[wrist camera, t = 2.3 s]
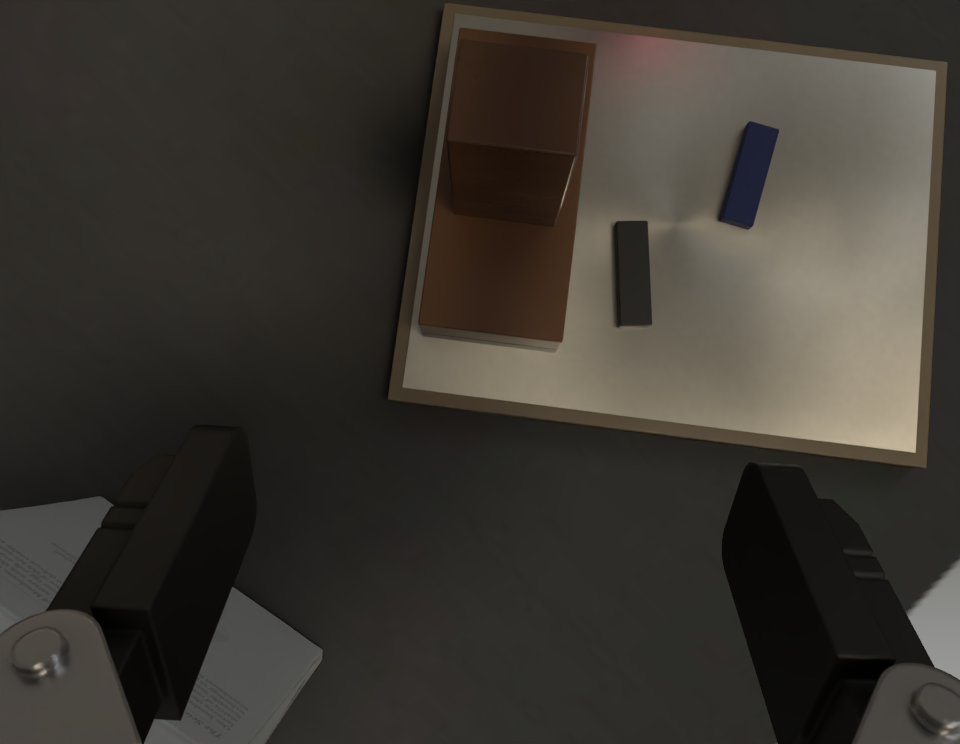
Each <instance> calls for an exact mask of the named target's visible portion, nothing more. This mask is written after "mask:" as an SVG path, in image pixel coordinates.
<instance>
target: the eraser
mask: <svg viewBox="0 0 960 744" xmlns="http://www.w3.org/2000/svg"><path fill="white" fill-rule="evenodd" d="M596 49H597V44H595V43H587V42H579V41H570V40H562V39H553V38H545V37H537V36H528V35H520V34H512V33H503V32H495V31H487V30H478V29H470V28H460V29H459V34H458V41H457V48H456V56H455V63H454V70H453V77H452V84H451V91H450V98H449V105H448V113H447V120H446V127H445V134H444V141H443V148H442V155H441V162H440V170H439V177H438V184H437V191H436V198H435V205H434V212H433V219H432V227H431V234H430V241H429V248H428V255H427V262H426V269H425V276H424V284H423V291H422V298H421V305H420V312H419V319H418V324H419V327H420V329H421V332H422V334H423V336H425V337H432V338H440V339H448V340H456V341H464V342H472V343H480V344H488V345H496V346H504V347H512V348H520V349H528V350H536V351H544V352H552V353H556V351H557V350H558V348H559V346H560V345H561V343H562V342H563V335H564V327H565V318H566V309H567V301H568V292H569V283H570V275H571V266H572V257H573V249H574V240H575V231H576V223H577V214H578V205H579V196H580V188H581V179H582V170H583V162H584V153H585V144H586V136H587V127H588V118H589V110H590V101H591V92H592V84H593V75H594V66H595V58H596Z"/></svg>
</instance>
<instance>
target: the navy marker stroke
mask: <svg viewBox="0 0 960 744" xmlns="http://www.w3.org/2000/svg"><path fill="white" fill-rule="evenodd" d="M778 134H779V129H776V128H773V127H769V126H766V125H762V124H759V123H755V122H752V121H749V122H748V124H747V125H746V126H745V129H744V132H743V136H742V140H741V143H740V147H739V150H738V154H737V157H736V161H735V165H734V168H733V172H732V175H731V179H730V182H729V186H728V190H727V193H726V197H725V200H724V204H723V207H722V211H721V215H720V218H719V221H721V222H724V223H727V224H731V225H734V226H737V227H741V228H744V229H747V230H749V229H750V228H751V227H752V226H753V225H754V221H755V218H756V214H757V210H758V207H759V203H760V199H761V196H762V192H763V188H764V185H765V181H766V177H767V174H768V170H769V166H770V163H771V159H772V156H773V152H774V148H775V145H776V141H777V137H778Z"/></svg>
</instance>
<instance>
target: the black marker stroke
mask: <svg viewBox="0 0 960 744" xmlns="http://www.w3.org/2000/svg"><path fill="white" fill-rule="evenodd" d="M614 235H615V262H616V289H617V317H618V327H619V328H648V327H650V326H651V325H652V306H651V283H650V259H649V236H648V221H616V223H615V225H614Z"/></svg>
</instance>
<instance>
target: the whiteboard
mask: <svg viewBox="0 0 960 744" xmlns="http://www.w3.org/2000/svg"><path fill="white" fill-rule="evenodd" d="M460 28H470V29H478V30H487V31H495V32H503V33H512V34H520V35H528V36H537V37H545V38H553V39H562V40H570V41H579V42H587V43H595V44H597V49H596V58H595V66H594V75H593V84H592V92H591V101H590V110H589V118H588V127H587V136H586V144H585V153H584V162H583V170H582V179H581V188H580V196H579V205H578V214H577V223H576V231H575V240H574V249H573V257H572V266H571V275H570V283H569V292H568V301H567V309H566V318H565V327H564V335H563V342H562V343H561V345H560V346H559V348H558V350H557V351H556V353H552V352H544V351H536V350H528V349H520V348H512V347H504V346H496V345H488V344H480V343H472V342H464V341H456V340H448V339H440V338H432V337H425V336H423V334H422V332H421V329H420V327H419V324H418V319H419V312H420V305H421V298H422V291H423V284H424V276H425V269H426V262H427V255H428V248H429V241H430V234H431V227H432V219H433V212H434V205H435V198H436V191H437V184H438V177H439V170H440V162H441V155H442V148H443V141H444V134H445V127H446V120H447V113H448V105H449V98H450V91H451V84H452V77H453V70H454V63H455V56H456V48H457V41H458V34H459V29H460ZM946 81H947V62H941V61H933V60H924V59H916V58H907V57H899V56H891V55H882V54H874V53H865V52H857V51H849V50H840V49H832V48H823V47H815V46H807V45H798V44H790V43H781V42H773V41H765V40H756V39H748V38H739V37H731V36H722V35H714V34H706V33H697V32H689V31H680V30H672V29H664V28H655V27H647V26H638V25H630V24H622V23H613V22H605V21H596V20H588V19H580V18H571V17H563V16H554V15H546V14H538V13H529V12H521V11H512V10H504V9H496V8H487V7H479V6H470V5H462V4H454V3H444V9H443V16H442V22H441V29H440V36H439V43H438V50H437V57H436V64H435V71H434V78H433V85H432V92H431V99H430V106H429V113H428V120H427V127H426V134H425V141H424V148H423V155H422V162H421V169H420V176H419V182H418V189H417V196H416V203H415V210H414V217H413V224H412V231H411V238H410V245H409V252H408V259H407V266H406V273H405V280H404V287H403V294H402V301H401V308H400V315H399V322H398V329H397V336H396V342H395V349H394V356H393V363H392V370H391V377H390V384H389V391H388V400H389V401H391V402H397V403H405V404H413V405H421V406H428V407H436V408H444V409H452V410H460V411H468V412H475V413H483V414H491V415H499V416H507V417H515V418H523V419H530V420H538V421H546V422H554V423H562V424H570V425H577V426H585V427H593V428H601V429H609V430H617V431H625V432H632V433H640V434H648V435H656V436H664V437H672V438H679V439H687V440H695V441H703V442H711V443H719V444H727V445H734V446H742V447H750V448H758V449H766V450H774V451H781V452H789V453H797V454H805V455H813V456H821V457H829V458H836V459H844V460H852V461H860V462H868V463H876V464H883V465H891V466H899V467H907V468H926V467H927V448H928V429H929V410H930V390H931V371H932V352H933V332H934V313H935V294H936V274H937V255H938V236H939V216H940V197H941V178H942V158H943V139H944V120H945V100H946ZM749 121H752V122H755V123H759V124H762V125H766V126H769V127H773V128H776V129H779V134H778V137H777V141H776V145H775V148H774V152H773V156H772V159H771V163H770V166H769V170H768V174H767V177H766V181H765V185H764V188H763V192H762V196H761V199H760V203H759V207H758V210H757V214H756V218H755V221H754V225H753V226H752V227H751V228H750V229H749V230H747V229H744V228H741V227H737V226H734V225H731V224H727V223H724V222H721V221H719V218H720V215H721V211H722V207H723V204H724V200H725V197H726V193H727V190H728V186H729V182H730V179H731V175H732V172H733V168H734V165H735V161H736V157H737V154H738V150H739V147H740V143H741V140H742V136H743V132H744V129H745V126H746V125H747V124H748V122H749ZM616 221H648V236H649V259H650V283H651V306H652V325H651V326H650V327H648V328H619V327H618V317H617V289H616V262H615V235H614V225H615V223H616Z"/></svg>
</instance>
